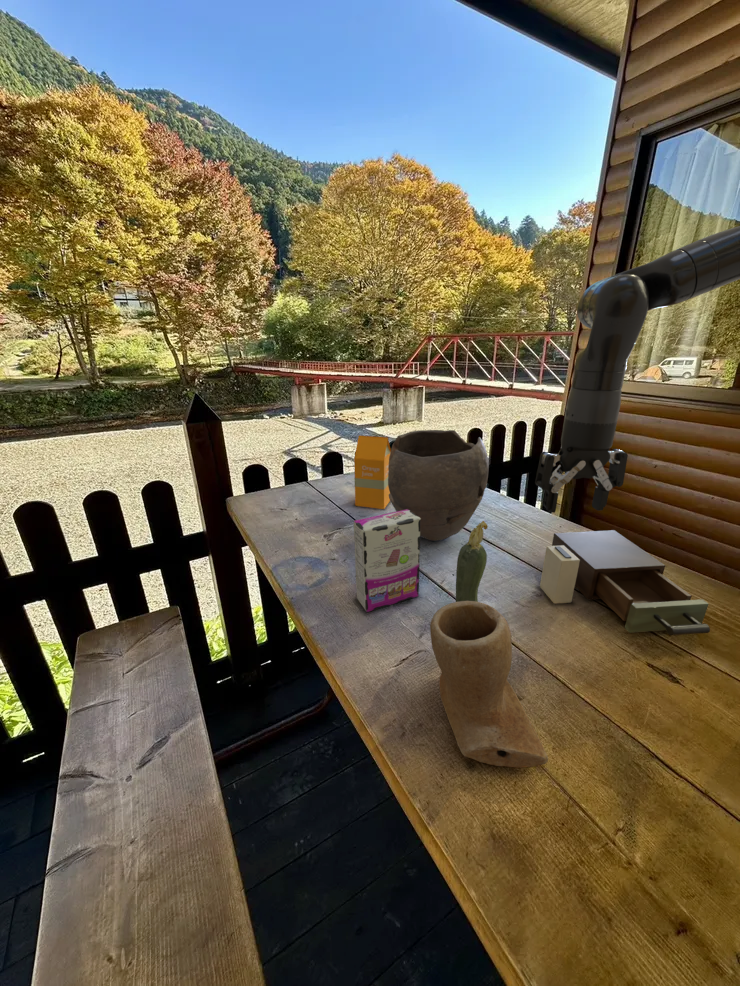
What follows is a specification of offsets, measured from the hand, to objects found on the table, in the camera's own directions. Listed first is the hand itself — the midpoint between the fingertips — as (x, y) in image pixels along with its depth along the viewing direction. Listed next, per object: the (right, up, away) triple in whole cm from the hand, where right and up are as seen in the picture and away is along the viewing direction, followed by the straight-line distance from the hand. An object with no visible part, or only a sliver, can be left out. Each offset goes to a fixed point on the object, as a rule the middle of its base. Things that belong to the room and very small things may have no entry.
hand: (573, 509), depth 71 cm
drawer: (+12, -18, 0) cm, 22 cm away
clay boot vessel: (-22, -26, -19) cm, 39 cm away
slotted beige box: (0, -16, +7) cm, 18 cm away
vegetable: (-20, -20, -2) cm, 28 cm away
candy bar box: (-32, -17, +6) cm, 37 cm away
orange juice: (-35, 0, +50) cm, 61 cm away
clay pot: (-21, -8, +29) cm, 37 cm away
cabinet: (+11, -14, +12) cm, 22 cm away
